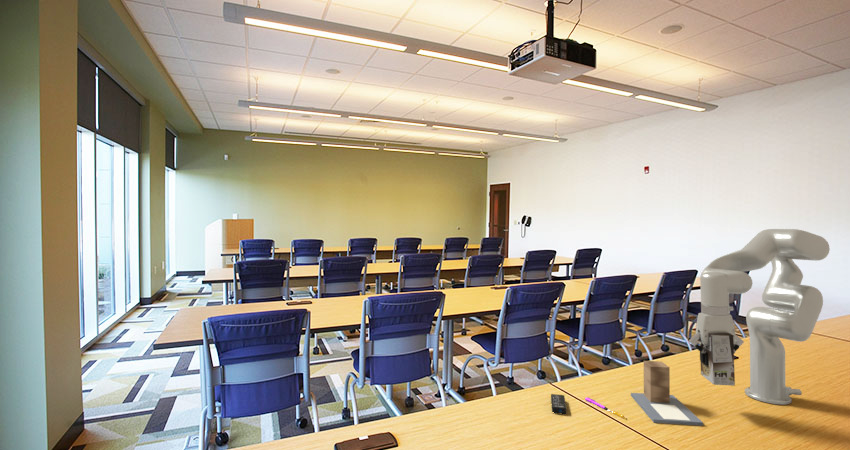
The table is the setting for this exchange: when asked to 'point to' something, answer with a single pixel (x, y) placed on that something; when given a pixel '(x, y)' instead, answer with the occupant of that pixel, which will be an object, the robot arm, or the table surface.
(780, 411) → the table surface
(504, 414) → the table surface
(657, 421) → the board
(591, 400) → the magenta and yellow rod
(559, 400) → the multiport hub
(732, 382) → the coffee box
